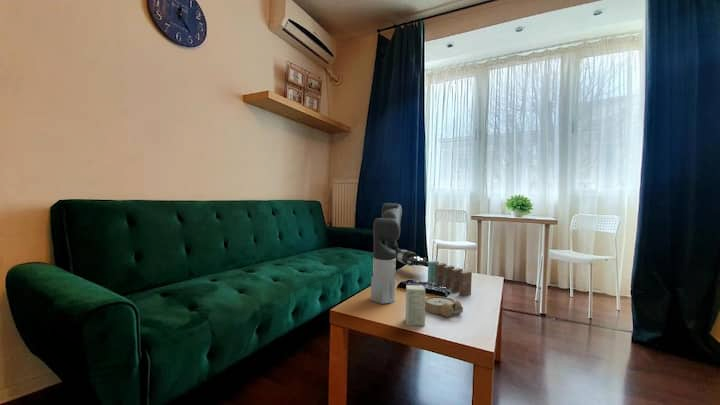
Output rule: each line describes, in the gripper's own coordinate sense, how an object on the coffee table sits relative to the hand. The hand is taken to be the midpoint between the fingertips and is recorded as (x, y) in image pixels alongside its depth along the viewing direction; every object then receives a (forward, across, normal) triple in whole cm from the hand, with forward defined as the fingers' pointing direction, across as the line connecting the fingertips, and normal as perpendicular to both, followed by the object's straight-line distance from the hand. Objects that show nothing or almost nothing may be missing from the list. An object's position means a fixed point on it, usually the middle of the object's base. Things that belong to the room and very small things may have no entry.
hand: (428, 264), depth 144 cm
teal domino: (+4, 0, +8) cm, 8 cm away
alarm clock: (+33, -21, +8) cm, 40 cm away
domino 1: (+9, 0, +8) cm, 12 cm away
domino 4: (+24, 0, +8) cm, 25 cm away
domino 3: (+19, 0, +8) cm, 20 cm away
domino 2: (+14, 0, +8) cm, 16 cm away
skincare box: (+36, -37, +8) cm, 52 cm away
